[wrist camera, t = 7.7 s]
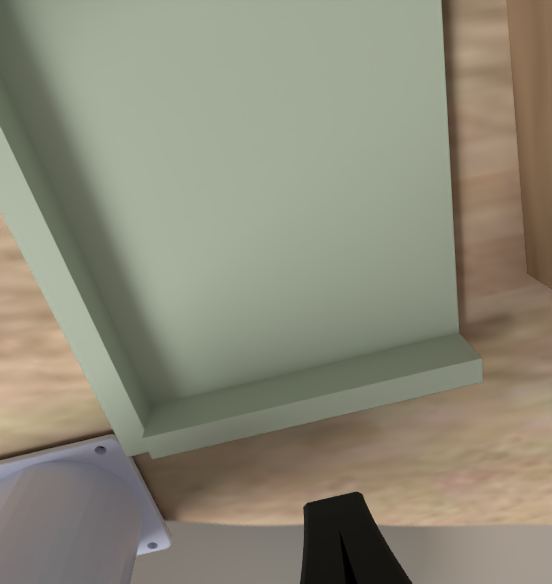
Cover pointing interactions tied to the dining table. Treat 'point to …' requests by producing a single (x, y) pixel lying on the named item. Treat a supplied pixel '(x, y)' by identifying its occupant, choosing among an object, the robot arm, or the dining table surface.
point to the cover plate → (534, 126)
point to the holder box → (235, 206)
